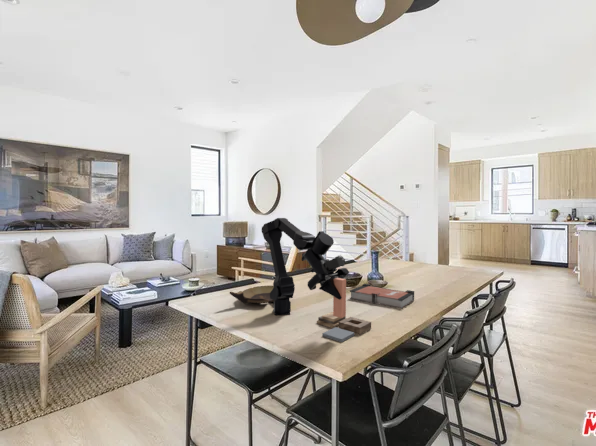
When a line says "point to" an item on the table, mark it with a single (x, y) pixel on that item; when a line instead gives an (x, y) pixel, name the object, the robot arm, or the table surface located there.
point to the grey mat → (338, 334)
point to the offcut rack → (345, 323)
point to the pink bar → (340, 305)
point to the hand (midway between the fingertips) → (342, 298)
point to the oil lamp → (254, 294)
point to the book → (382, 296)
